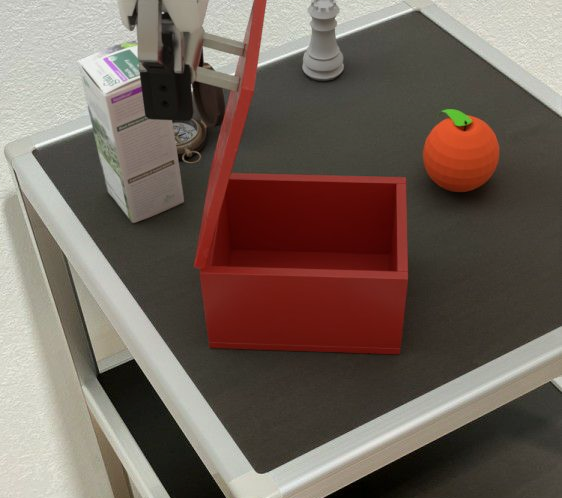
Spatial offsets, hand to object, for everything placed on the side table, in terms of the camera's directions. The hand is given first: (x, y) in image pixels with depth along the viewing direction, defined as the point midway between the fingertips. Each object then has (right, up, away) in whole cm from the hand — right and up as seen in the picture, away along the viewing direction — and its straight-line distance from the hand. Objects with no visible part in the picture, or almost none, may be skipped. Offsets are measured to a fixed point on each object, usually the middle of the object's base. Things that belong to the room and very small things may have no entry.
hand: (175, 89), depth 67 cm
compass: (-2, +3, +29) cm, 30 cm away
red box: (+10, -13, +16) cm, 23 cm away
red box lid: (+4, -3, +3) cm, 5 cm away
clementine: (+24, -1, +25) cm, 35 cm away
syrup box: (-6, -3, +25) cm, 25 cm away
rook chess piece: (+12, +13, +37) cm, 41 cm away
